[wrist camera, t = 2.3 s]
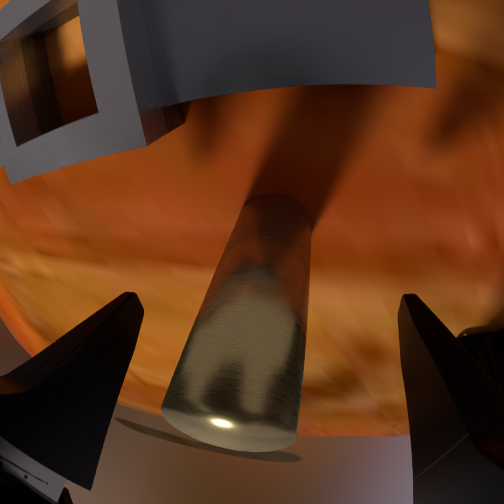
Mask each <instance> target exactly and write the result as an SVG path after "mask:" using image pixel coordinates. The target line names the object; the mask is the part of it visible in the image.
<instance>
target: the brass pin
mask: <svg viewBox="0 0 504 504" xmlns="http://www.w3.org/2000/svg"><path fill="white" fill-rule="evenodd" d="M310 257H311V221H310V217H309V215H308V213H307V211H306V210H305V209H304V207H303V206H302V205H301V204H300V203H298V202H297V201H296V200H294V199H292V198H290V197H288V196H285V195H281V194H264V195H260V196H257V197H255V198H253V199H252V200H250V201H249V202H248V203H247V204H246V205H245V206H244V207H243V209H242V210H241V212H240V215H239V217H238V219H237V222H236V224H235V226H234V229H233V231H232V233H231V236H230V238H229V240H228V243H227V245H226V247H225V250H224V252H223V254H222V257H221V259H220V261H219V264H218V266H217V269H216V271H215V273H214V276H213V278H212V281H211V283H210V285H209V288H208V290H207V293H206V295H205V297H204V300H203V302H202V305H201V307H200V310H199V312H198V314H197V317H196V319H195V322H194V324H193V327H192V329H191V332H190V334H189V337H188V339H187V342H186V344H185V347H184V349H183V352H182V354H181V357H180V359H179V362H178V364H177V367H176V369H175V372H174V375H173V377H172V380H171V382H170V385H169V387H168V390H167V393H166V395H165V398H164V400H163V403H162V406H161V413H162V415H163V417H164V418H165V419H166V420H167V421H168V422H169V423H170V424H171V425H172V426H174V427H175V428H177V429H178V430H180V431H181V432H183V433H185V434H187V435H189V436H191V437H193V438H195V439H198V440H200V441H202V442H205V443H208V444H211V445H215V446H218V447H223V448H227V449H232V450H239V451H249V452H267V451H275V450H280V449H283V448H286V447H288V446H290V445H292V444H293V443H294V442H295V441H296V438H297V430H298V421H299V412H300V403H301V393H302V382H303V371H304V360H305V347H306V334H307V318H308V301H309V282H310Z"/></svg>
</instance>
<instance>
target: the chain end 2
mask: <svg viewBox="0 0 504 504" xmlns="http://www.w3.org/2000/svg"><path fill="white" fill-rule="evenodd" d="M141 1H142V7H143V13H144V19H145V25H146V30H147V36H148V41H149V47H150V52H151V57H152V62H153V67H154V72H155V77H156V82H157V87H158V91H159V96H160V101H161V105H162V110H163V114H164V118H165V123H166V127H167V131H168V133H169V132H170V131H172V130H174V129H175V128H177V127H179V126H181V125H182V124H184V119H183V115H182V110H181V105H180V103H181V102H186V101H191V100H196V99H201V98H207V97H212V96H218V95H224V94H231V93H238V92H245V91H253V90H261V89H270V88H281V87H293V86H308V85H332V84H375V85H399V86H413V87H425V88H435V89H436V67H435V53H434V42H433V33H432V25H431V18H430V11H429V5H428V0H141ZM77 16H79V10H78V2H76V3H75V4H73V5H71V6H70V7H68V8H66V9H65V10H63V11H62V12H60V13H58V14H57V15H55V16H54V17H52V18H51V19H49V20H48V21H46V22H45V23H43V24H42V25H41V26H39V27H38V28H36V29H35V30H33V31H32V32H31V33H29V34H28V35H27V36H25V37H24V38H23V39H21V47H22V53H23V60H24V65H25V71H26V76H27V81H28V86H29V90H30V95H31V99H32V103H33V108H34V112H35V115H36V119H37V123H38V127H39V130H40V134H41V135H42V134H44V133H46V132H48V131H51V130H53V129H55V128H58V127H60V126H63V125H65V124H63V125H62V122H61V118H60V114H59V110H58V106H57V102H56V98H55V94H54V89H53V85H52V80H51V75H50V70H49V65H48V60H47V54H46V48H45V42H44V36H46V35H47V34H49V33H50V32H52V31H54V30H55V29H57V28H58V27H60V26H62V25H63V24H65V23H67V22H68V21H70V20H72V19H73V18H75V17H77ZM97 112H98V111H97ZM97 112H94V113H97ZM94 113H92V114H94ZM89 115H91V114H89ZM86 116H88V115H86ZM86 116H84V117H86ZM81 118H83V117H81ZM78 119H80V118H78ZM78 119H76V120H78ZM73 121H75V120H73ZM73 121H71V122H73ZM68 123H70V122H68ZM68 123H66V124H68Z"/></svg>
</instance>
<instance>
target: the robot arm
mask: <svg viewBox="0 0 504 504" xmlns="http://www.w3.org/2000/svg"><path fill="white" fill-rule="evenodd" d="M143 316H144V308H143V306H142V304H141V302H140V300H139V298H138V296H137V294H136V293H134V292H124V293H123V294H121V295H120V296H118V297H117V298H116V299H114V300H113V301H111V302H110V303H108V304H107V305H105V306H104V307H103V308H101V309H100V310H98V311H97V312H95V313H94V314H93V315H91V316H90V317H88V318H87V319H86V320H84V321H83V322H81V323H80V324H79V325H77V326H76V327H74V328H73V329H72V330H70V331H69V332H67V333H66V334H65V335H63V336H62V337H61V338H59V339H58V340H56V341H55V343H52V344H51V345H50V346H48V347H47V348H45V349H44V350H43V351H41V352H40V353H38V354H37V355H35V356H34V357H32V358H31V359H29V360H28V361H26V362H25V363H23V364H22V365H20V366H19V367H17V368H15V369H14V370H13V371H11V372H9V373H7V374H5V375H3V376H0V504H73V502H72V500H71V497H70V494H69V491H68V489H67V488H65V487H64V485H65V482H66V480H67V479H68V480H70V481H71V482H73V483H75V484H77V485H79V486H81V487H83V488H85V489H87V490H91V488H92V485H93V481H94V477H95V473H96V469H97V466H98V462H99V458H100V455H101V451H102V448H103V444H104V441H105V437H106V434H107V431H108V427H109V424H110V421H111V418H112V415H113V412H114V408H115V405H116V402H117V399H118V396H119V393H120V390H121V387H122V384H123V381H124V378H125V376H126V373H127V370H128V367H129V364H130V361H131V359H132V356H133V353H134V350H135V346H136V343H137V339H138V335H139V331H140V327H141V324H142V320H143ZM398 329H399V343H400V359H401V368H402V374H403V380H404V387H405V394H406V402H407V410H408V418H409V428H410V439H411V450H412V467H413V480H414V481H413V504H504V331H499V332H492V333H485V334H478V335H470V336H463V337H460V338H459V339H457V338H456V337H455V336H454V335H453V334H452V333H451V332H450V331H449V329H448V328H447V327H446V326H445V325H444V324H443V323H442V322H441V321H440V319H439V318H438V317H437V316H436V315H435V314H434V313H433V312H432V311H431V310H430V309H429V308H428V307H427V305H426V304H425V303H424V302H423V301H422V300H421V299H420V298H419V297H418V296H417V295H416V294H404V295H403V296H402V298H401V302H400V307H399V311H398Z"/></svg>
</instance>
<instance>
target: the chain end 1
mask: <svg viewBox="0 0 504 504" xmlns="http://www.w3.org/2000/svg"><path fill="white" fill-rule="evenodd" d="M76 2H78V10H79V17H80V24H81V30H82V36H83V42H84V47H85V53H86V58H87V63H88V68H89V73H90V78H91V82H92V87H93V91H94V95H95V100H96V104H97V108H98V112H97V113H94V114H91V115H88V116H86V117H83V118H80V119H78V120H75V121H73V122H70V123H68V124H65V125H63V126H60V127H58V128H55V129H53V130H51V131H48V132H46V133H44V134H42V135H41V134H40V130H39V127H38V123H37V119H36V115H35V112H34V108H33V103H32V99H31V95H30V90H29V86H28V81H27V76H26V71H25V65H24V60H23V53H22V47H21V39H23V38H24V37H25V36H27V35H28V34H29V33H31V32H32V31H33V30H35V29H36V28H38V27H39V26H41V25H42V24H43V23H45V22H46V21H48V20H49V19H51V18H52V17H54V16H55V15H57V14H58V13H60V12H62V11H63V10H65V9H66V8H68V7H70V6H71V5H73V4H75V3H76ZM167 133H168V131H167V127H166V123H165V118H164V114H163V110H162V105H161V101H160V96H159V91H158V87H157V82H156V77H155V72H154V67H153V62H152V57H151V52H150V47H149V41H148V36H147V30H146V25H145V19H144V13H143V7H142V1H141V0H11V1H9V2H8V3H7V4H6V5H5V6H4V7H3V8H2V9H1V10H0V167H1V166H3V165H4V166H5V169H6V172H7V175H8V178H9V181H10V183H11V184H13V183H16V182H19V181H22V180H24V179H27V178H30V177H33V176H36V175H39V174H42V173H45V172H49V171H52V170H55V169H58V168H62V167H65V166H68V165H72V164H75V163H79V162H83V161H86V160H90V159H94V158H98V157H102V156H106V155H110V154H114V153H118V152H122V151H127V150H131V149H136V148H140V147H145V146H148V145H150V144H151V143H153V142H154V141H156V140H157V139H159V138H161V137H162V136H164V135H166V134H167Z"/></svg>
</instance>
